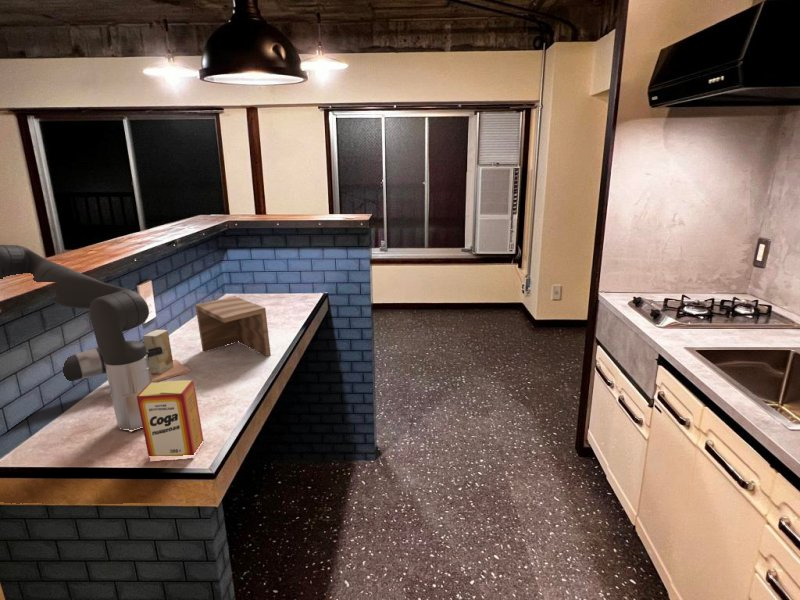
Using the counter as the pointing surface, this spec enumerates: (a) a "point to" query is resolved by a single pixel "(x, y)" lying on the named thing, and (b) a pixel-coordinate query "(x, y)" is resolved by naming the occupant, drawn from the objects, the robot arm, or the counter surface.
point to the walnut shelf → (233, 324)
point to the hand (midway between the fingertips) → (157, 346)
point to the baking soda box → (170, 418)
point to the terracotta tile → (170, 372)
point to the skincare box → (165, 359)
